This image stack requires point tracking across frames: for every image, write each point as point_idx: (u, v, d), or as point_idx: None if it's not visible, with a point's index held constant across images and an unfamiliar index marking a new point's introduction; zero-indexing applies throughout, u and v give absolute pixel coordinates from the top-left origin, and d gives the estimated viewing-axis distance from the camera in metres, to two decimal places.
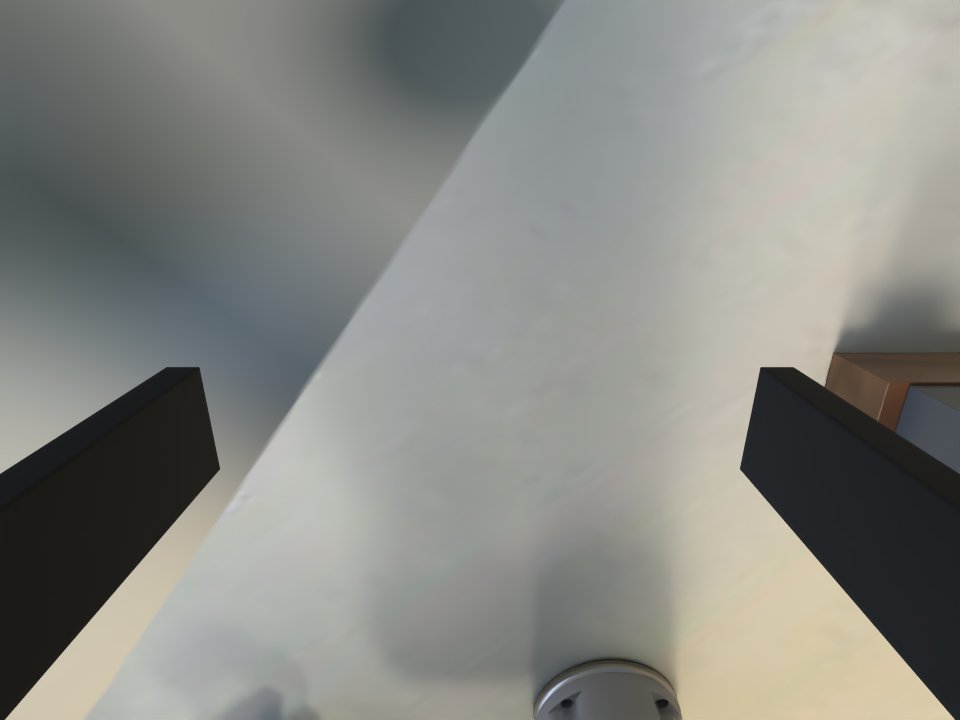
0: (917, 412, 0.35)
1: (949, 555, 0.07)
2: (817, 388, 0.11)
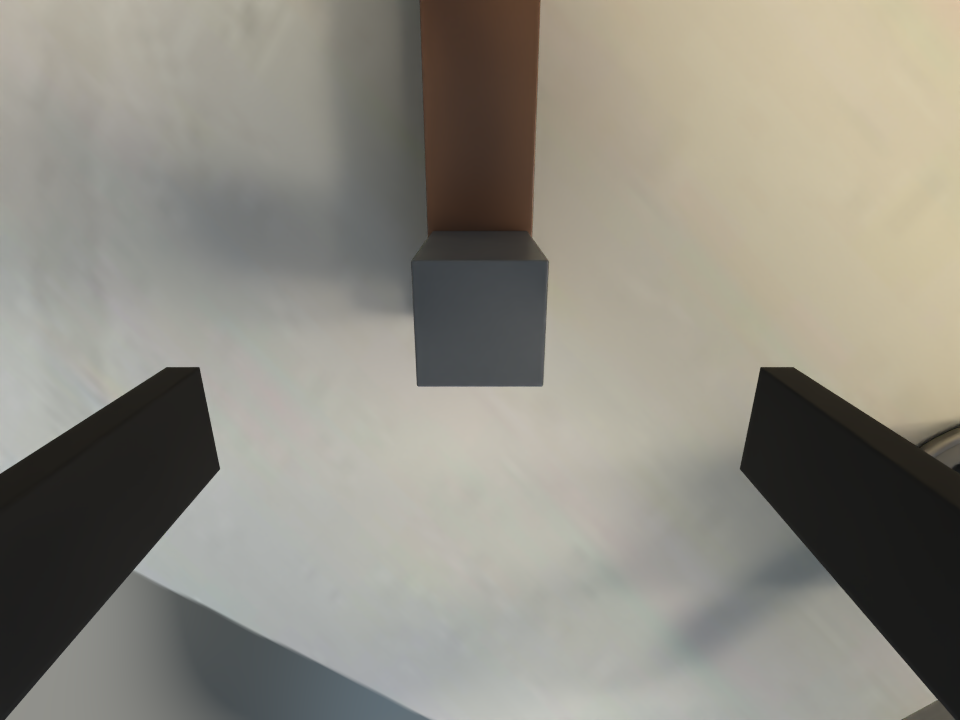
0: None
1: (949, 555, 0.07)
2: (817, 388, 0.11)
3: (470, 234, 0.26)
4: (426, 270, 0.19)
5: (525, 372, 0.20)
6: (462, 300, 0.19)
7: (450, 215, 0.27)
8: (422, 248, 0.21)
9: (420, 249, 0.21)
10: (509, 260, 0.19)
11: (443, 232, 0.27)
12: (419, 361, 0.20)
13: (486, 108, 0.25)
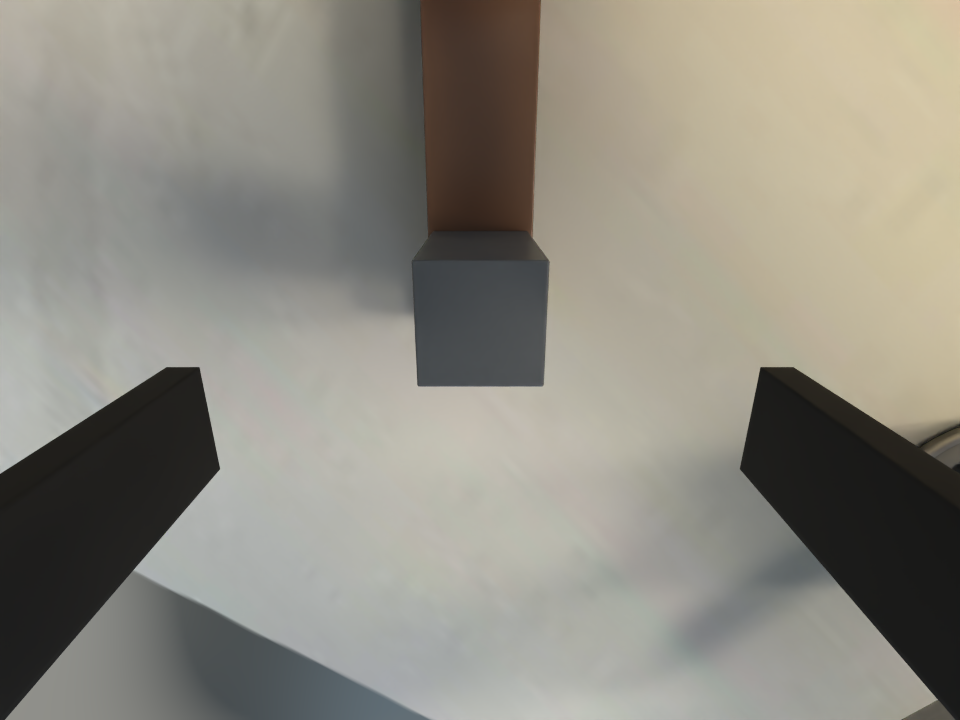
0: None
1: (949, 555, 0.07)
2: (817, 388, 0.11)
3: (470, 234, 0.26)
4: (427, 270, 0.19)
5: (525, 372, 0.20)
6: (463, 299, 0.19)
7: (450, 215, 0.27)
8: (423, 248, 0.21)
9: (421, 249, 0.21)
10: (510, 260, 0.19)
11: (443, 232, 0.27)
12: (420, 361, 0.20)
13: (486, 108, 0.25)
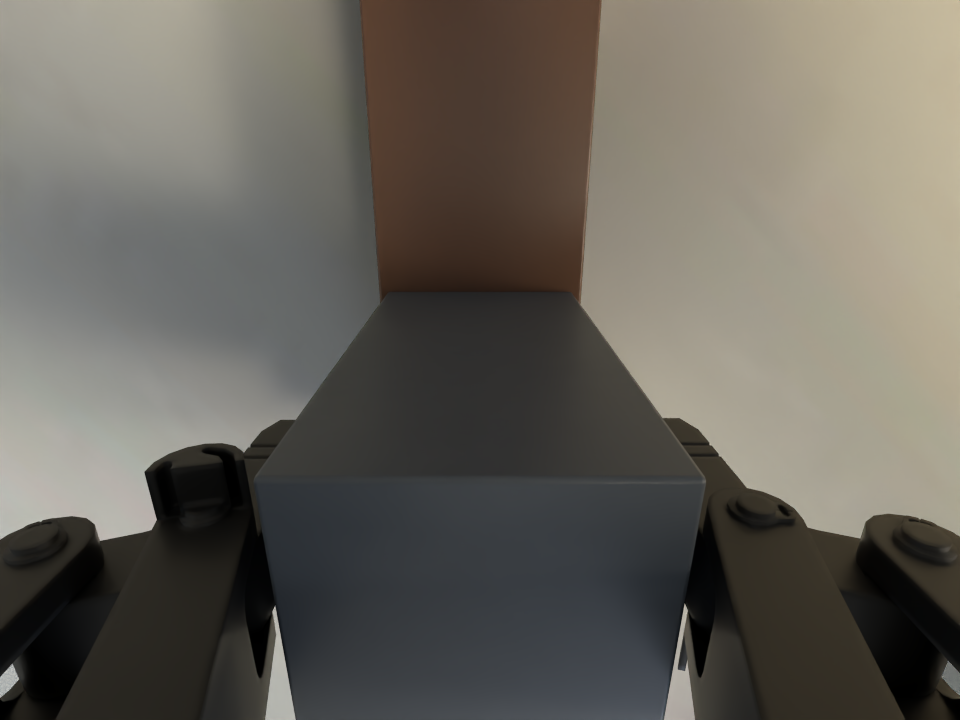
0: None
1: None
2: None
3: (460, 305, 0.13)
4: (304, 507, 0.06)
5: None
6: (426, 585, 0.06)
7: (422, 261, 0.14)
8: (331, 378, 0.08)
9: (323, 384, 0.08)
10: (576, 475, 0.06)
11: (407, 297, 0.13)
12: None
13: (493, 45, 0.12)
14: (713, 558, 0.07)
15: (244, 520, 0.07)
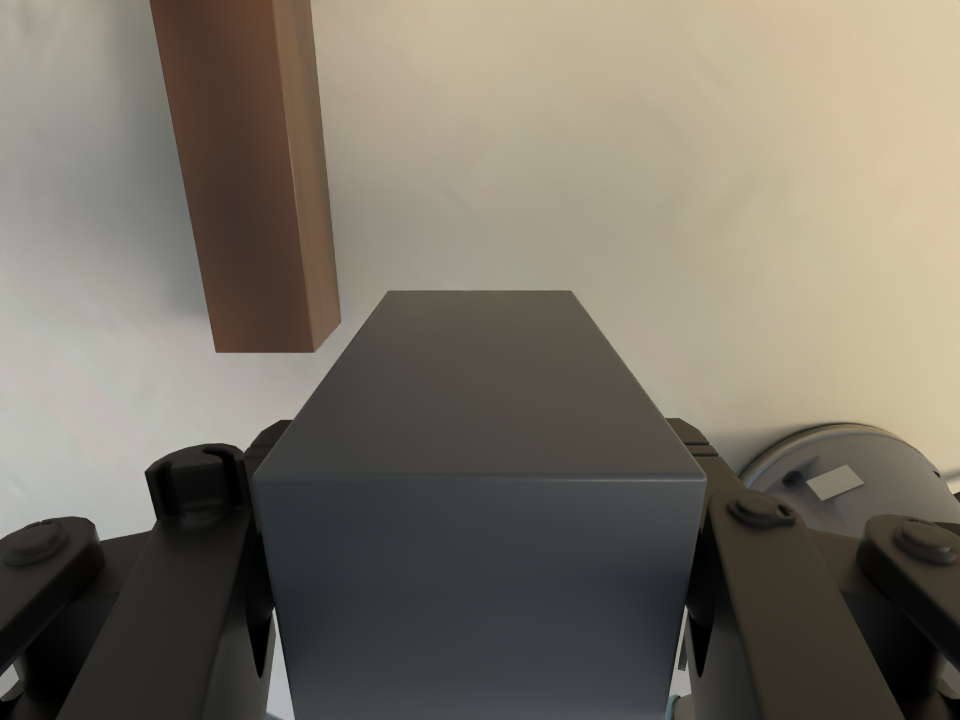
0: None
1: None
2: None
3: (460, 304, 0.13)
4: (303, 505, 0.06)
5: None
6: (425, 583, 0.06)
7: (213, 217, 0.26)
8: (330, 376, 0.08)
9: (323, 382, 0.08)
10: (577, 473, 0.06)
11: (407, 295, 0.13)
12: None
13: (233, 108, 0.25)
14: (713, 558, 0.07)
15: (244, 520, 0.07)
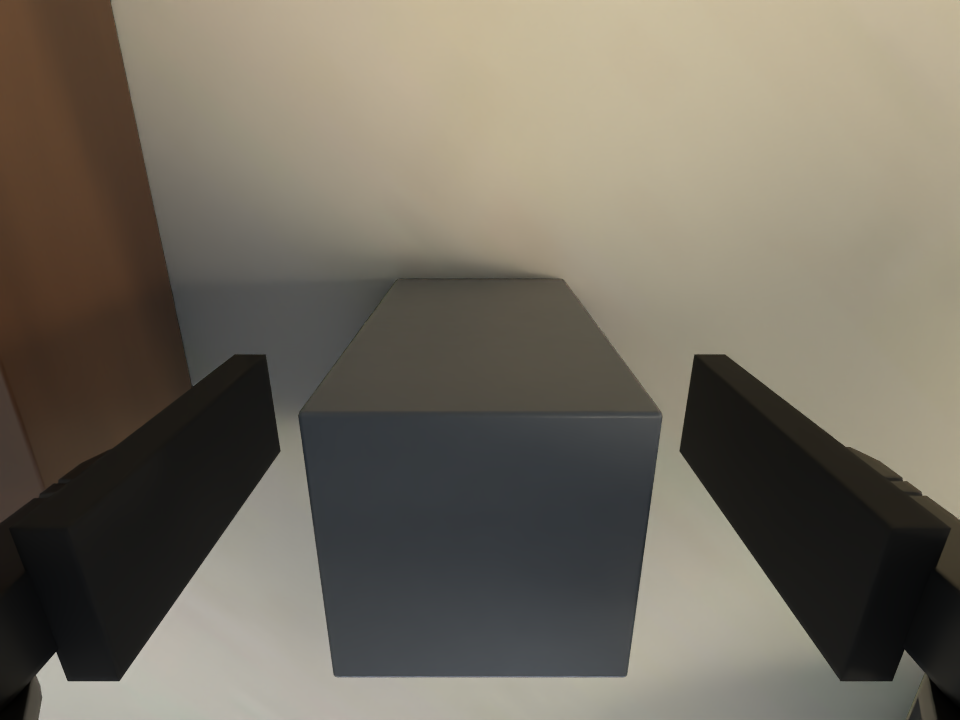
0: None
1: (823, 515, 0.08)
2: (740, 373, 0.12)
3: (462, 289, 0.14)
4: (339, 437, 0.07)
5: (587, 651, 0.09)
6: (435, 504, 0.08)
7: None
8: (353, 345, 0.10)
9: (347, 349, 0.09)
10: (558, 411, 0.07)
11: (414, 283, 0.15)
12: (335, 631, 0.08)
13: None
14: None
15: None
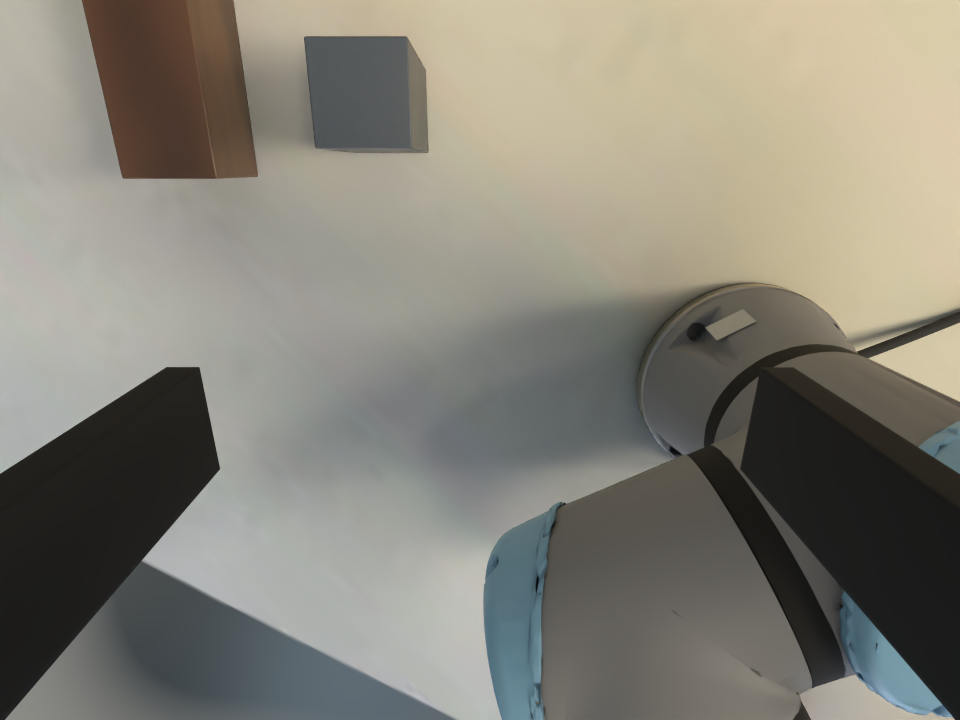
0: None
1: (949, 555, 0.07)
2: (817, 388, 0.11)
3: None
4: (315, 44, 0.25)
5: (397, 134, 0.26)
6: (344, 70, 0.25)
7: (111, 32, 0.27)
8: None
9: None
10: (378, 37, 0.25)
11: None
12: (315, 125, 0.26)
13: None
14: None
15: None
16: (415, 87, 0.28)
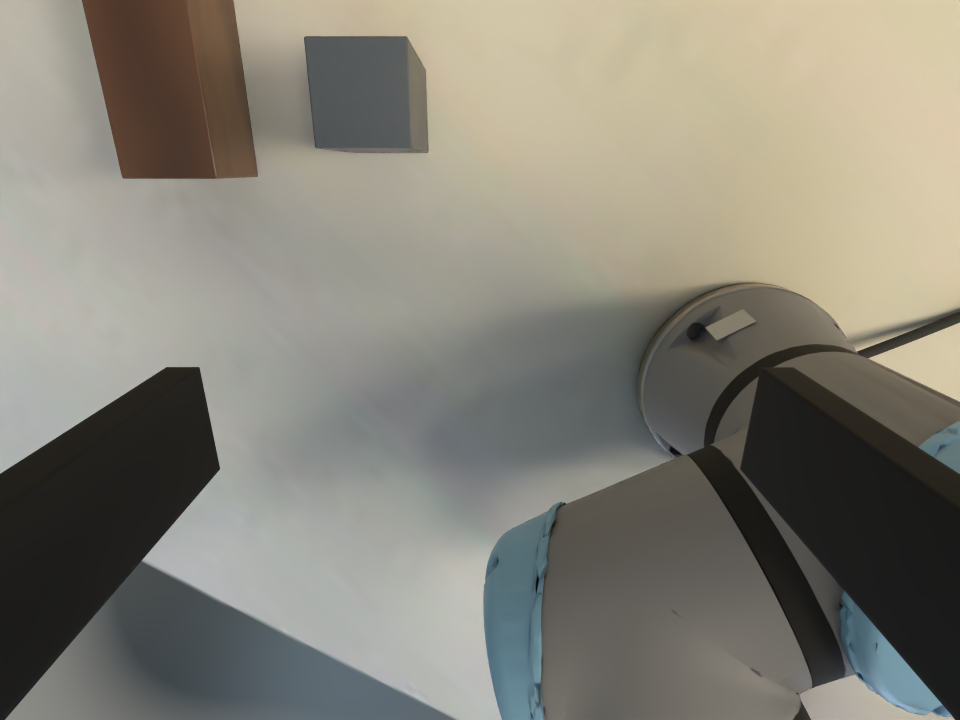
0: None
1: (949, 555, 0.07)
2: (817, 388, 0.11)
3: None
4: (315, 44, 0.25)
5: (396, 134, 0.26)
6: (344, 70, 0.25)
7: (111, 32, 0.27)
8: None
9: None
10: (378, 37, 0.25)
11: None
12: (315, 125, 0.26)
13: None
14: None
15: None
16: (415, 87, 0.28)
